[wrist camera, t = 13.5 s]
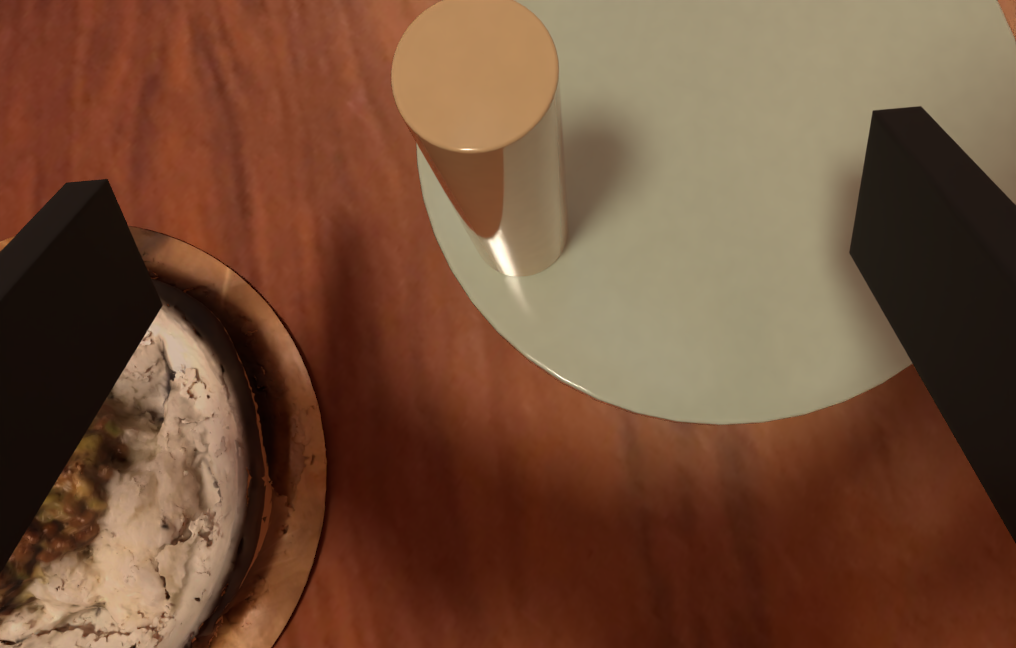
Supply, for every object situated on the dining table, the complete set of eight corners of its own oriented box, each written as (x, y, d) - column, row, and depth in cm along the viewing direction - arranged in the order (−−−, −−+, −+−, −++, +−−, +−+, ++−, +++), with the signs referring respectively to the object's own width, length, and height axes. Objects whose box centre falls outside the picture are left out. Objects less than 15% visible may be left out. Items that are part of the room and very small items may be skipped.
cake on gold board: (-37, 156, 25) (-157, 102, 21) (410, 332, 23) (374, 309, 19) (-260, 623, 24) (-435, 661, 20) (197, 850, 22) (109, 945, 18)
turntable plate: (941, 499, 20) (1299, 560, 10) (352, 336, 22) (159, 249, 12) (1066, -70, 21) (1480, -506, 12) (509, -178, 23) (455, -633, 13)
